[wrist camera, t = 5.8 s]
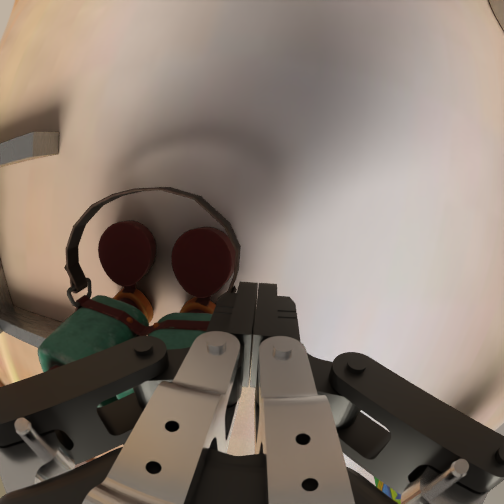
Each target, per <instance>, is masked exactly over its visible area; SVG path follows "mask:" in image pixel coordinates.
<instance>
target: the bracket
mask: <svg viewBox="0 0 504 504" xmlns="http://www.w3.org/2000/svg"><path fill="white" fill-rule="evenodd" d="M58 145H59V132H31V133H28V134H25V135H22V136H19V137H17V138H14V139H11V140H8V141H6V142H3V143H1V144H0V167H3V166H7V165H11V164H15V163H19V162H23V161H27V160H32V159H36V158H41V157H46V156H51V155H57V154H58ZM62 323H63V322H60V321H56V320H53V319H50V318H47V317H44V316H41V315H38V314H35V313H32V312H29V311H26V310H23V309H20V308H18V307H15V306H13V304H12V301H11V298H10V294H9V291H8V288H7V284H6V280H5V276H4V272H3V268H2V264H1V259H0V333H1V332H3V331H4V332H6V333H8V334H10V335H12V336H14V337H16V338H18V339H20V340H22V341H24V342H26V343H28V344H31V345H33V346H35V347H37V348H39V346H40V345H41V344H42V342H43V341H44V340H45V339H46V338H47V337H48V336H49V335H50V334H51V333H52V332H53V331H55V330H56V329H57V328H58V327H59V326H60V325H61V324H62Z"/></svg>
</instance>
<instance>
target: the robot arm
mask: <svg viewBox="0 0 504 504" xmlns="http://www.w3.org/2000/svg"><path fill="white" fill-rule="evenodd" d="M489 2H490V4H491V7H492V9H493V11H494V13H495V16H496V18H497V19H498V21H499V23H500V25H501V27H502V28H503V30H504V0H489ZM257 288H258V283H252V282H240V283H239V287H238V290H237V293H228V292H226V293H224V294H223V295H222V296H221V297H219V298H218V301H217V303H216V307H215V309H214V312H213V314H212V317H211V320H210V322H209V325H208V328H207V331H206V333H203V334H201V335H200V336H198V337H197V338H196V339H195V340H194V342H193V344H192V346H191V347H188V348H182V349H169V350H167V348H166V345H165V343H164V342H163V341H162V340H161V339H159V338H157V337H153V336H139V337H135V338H132V339H130V340H127V341H125V342H122V343H120V344H117V345H115V346H112V347H110V348H107V349H105V350H102V351H100V352H97V353H94V354H92V355H89V356H87V357H84V358H81V359H79V360H76V361H74V362H71V363H68V364H66V365H63V366H60V367H57V368H55V369H52V370H49V371H46V372H44V373H41V374H38V375H35V376H32V377H29V378H27V379H24V380H21V381H18V382H15V383H12V384H9V385H6V386H3V387H0V476H1V479H2V482H3V485H4V488H5V491H6V494H5V495H4V496H2V498H0V504H398V503H397V502H396V501H394V500H393V499H392V498H390V497H389V496H387V495H386V494H385V493H384V492H382V491H381V490H380V489H378V488H377V487H376V486H374V485H373V484H372V483H371V482H369V481H368V480H367V479H366V478H364V477H363V476H362V475H360V474H359V473H357V472H356V471H354V470H352V469H350V468H348V467H346V464H345V460H344V456H343V453H344V454H345V455H347V456H348V457H349V458H351V459H352V460H353V461H354V462H356V463H357V464H358V465H360V466H361V467H362V468H364V469H365V470H366V471H368V472H369V473H370V474H372V475H373V476H374V477H376V478H377V479H379V480H380V481H381V482H383V483H384V484H386V485H387V486H388V487H390V488H391V489H393V490H394V491H396V492H397V493H399V494H400V495H401V504H483V502H484V500H485V498H486V496H487V494H488V492H489V491H490V490H491V489H493V488H494V487H495V486H497V485H498V484H499V483H500V482H502V481H503V480H504V436H502V435H501V434H499V433H497V432H495V431H493V430H492V429H490V428H488V427H486V426H484V425H482V424H481V423H479V422H477V421H475V420H474V419H472V418H470V417H468V416H467V415H465V414H463V413H461V412H460V411H458V410H456V409H454V408H453V407H451V406H449V405H447V404H446V403H444V402H442V401H441V400H439V399H437V398H435V397H434V396H432V395H430V394H429V393H427V392H425V391H424V390H422V389H420V388H419V387H417V386H415V385H414V384H412V383H410V382H409V381H407V380H405V379H404V378H402V377H400V376H399V375H397V374H396V373H394V372H392V371H391V370H389V369H387V368H386V367H384V366H383V365H381V364H379V363H378V362H376V361H375V360H373V359H371V358H370V357H368V356H366V355H364V354H360V353H356V352H347V353H343V354H340V355H338V356H337V357H336V358H335V359H334V361H333V362H330V361H325V360H321V359H318V358H315V357H313V356H311V355H309V354H308V353H307V351H306V348H305V346H304V345H303V344H302V343H301V342H300V335H299V327H298V320H297V313H296V305H295V303H294V302H293V300H292V299H291V298H290V297H285V296H277V284H268V283H259V288H258V297H257ZM256 304H257V307H256ZM251 359H252V365H251ZM250 368H251V381H250V387H254V388H256V390H255V402H254V430H255V454H254V455H246V456H233V455H229V454H227V448H228V444H229V440H230V436H231V432H232V428H233V424H234V421H235V417H236V413H237V409H238V404H239V398H240V396H241V390H242V387H248V386H249V377H250ZM131 388H133V390H134V393H132V394H130V395H127V396H125V397H123V398H121V399H119V400H117V401H114V402H112V403H110V404H108V405H105V406H103V407H98V405H99V404H100V403H101V402H103V401H105V400H107V399H109V398H112V397H114V396H116V395H118V394H121V393H123V392H125V391H127V390H129V389H131ZM361 410H362V411H364V412H365V413H367V414H368V415H369V416H371V417H372V418H374V419H375V420H376V421H378V422H379V423H381V424H382V425H384V426H385V427H386V428H387V429H388V430H389V431H390V432H388V431H387V430H385V429H384V428H383V427H381V426H380V425H378V424H377V423H375V422H374V421H373V420H371V419H370V418H368V417H367V416H366V415H364V414H363V413H361V412H360V411H361ZM124 443H125V444H124ZM122 444H124V446H123V447H121V448H118V449H115V450H113V451H111V452H109V453H107V454H105V455H103V456H101V457H99V458H96V459H94V460H92V461H90V462H88V463H86V464H84V465H81V466H79V467H77V468H75V465H76V464H79V463H81V462H84V461H86V460H88V459H91V458H93V457H95V456H98V455H100V454H102V453H104V452H107V451H109V450H111V449H113V448H115V447H117V446H120V445H122ZM74 468H75V469H74Z"/></svg>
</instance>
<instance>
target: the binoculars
mask: <svg viewBox="0 0 504 504" xmlns="http://www.w3.org/2000/svg"><path fill="white" fill-rule="evenodd" d="M152 190H163V191H166V192H170V193H173V194H177V195H180V196H184V197H187V198H190V199H194V200H195V201H196V202H197V203H198V204H199V205H200V206H202V207H203V208H204V209H205V210H206V211H207V212H208V213H209V214H210V215H211V216H212V217H213V218H215V219H216V220H217V221H218V222H219V223H220V224H221V225H222V226H223V227H224V228H225V230H226V232H227V234H228V236H229V237H228V236H227V235H226V234H225V233H224V232H222V231H220V230H218V229H215V228H211V227H202V228H197V229H193V230H189V231H187V232H185V233H184V234H183V235H181V236H180V237H179V238H178V240H177V241H176V243H175V245H174V247H173V250H172V256H171V258H172V267H173V271H174V273H175V276H176V278H177V280H178V282H179V283H180V285H181V286H182V287H183V288H184V290H185V291H186V292H188V293H189V294H190V295H192V296H195V297H194V298H192V299H190V300H188V301H187V302H186V303H185V305H184V306H183V307H182V309H181V311H180V313H171V314H168V315H166V316H164V317H162V318H161V319H160V320H159V321H158V322H157V323H154V325H152V326H149V322H150V321H151V320H152V318H153V309H152V307H151V304H150V302H149V301H148V299H147V298H146V297H145V295H144V294H143V293H142V292H141V291H139V290H138V289H136V282H138V281H139V280H140V279H141V278H142V277H143V276H144V275H145V274H146V273H147V272H148V271H149V269H150V268H151V266H152V264H153V262H154V259H155V255H156V244H155V240H154V237H153V235H152V233H151V232H150V231H149V230H148V228H147V227H145V226H144V225H143V224H141V223H139V222H135V221H124V222H119V223H116V224H113V225H111V226H110V227H108V228H107V229H106V230H105V231H104V233H103V234H102V236H101V238H100V241H99V247H98V252H99V258H100V262H101V264H102V267H103V269H104V271H105V272H106V274H107V275H108V276H109V278H110V279H111V280H112V281H113V282H115V283H116V284H118V285H121V286H124V288H123V289H122V290H121V291H120V292H118V293H117V294H116V295H115V297H114V298H110V297H107V296H101V295H98V296H95V297H93V298H92V299H90V297H91V293H92V292H91V280H90V279H89V278H86V277H85V275H84V273H83V271H82V269H81V267H80V265H79V258H78V245H79V242H80V239H81V236H82V234H83V231H84V228H85V226H86V224H87V223H88V222H89V220H90V219H91V218H92V217H93V216H94V215H95V214H96V213H97V212H98V211H99V209H100V208H101V207H102V206H103V205H105V204H107V203H109V202H111V201H113V200H115V199H117V198H119V197H121V196H123V195H128V194H132V193H136V192H141V191H152ZM240 247H241V246H240V244H239V242H238V240H237V238H236V235H235V233H234V231H233V229H232V227H231V224H230V223H229V222H228V221H227V220H226V219H225V218H224V217H223V216H222V215H221V214H220V213H219V212H217V211H216V210H215V209H214V208H213V207H212V206H211V205H210V204H209V203H208V202H207V201H206V200H204V199H203V198H202V197H201V196H198V195H195V194H191V193H188V192H184V191H181V190H178V189H174V188H171V187H157V188H139V189H131V190H127V191H123V192H119V193H115V194H112V195H110V196H108V197H106V198H104V199H102V200H100V201H98V202H96V203H94V204H92V205H91V206H90V207H89V208H88V209H87V210H86V212H85V213H84V214H83V215H82V216H81V217H80V219H79V220H78V221H77V222H76V223H75V225H74V226H73V228H72V231H71V234H70V237H69V240H68V243H67V247H66V265H65V267H64V268H65V270H66V271H67V273H68V275H69V277H70V284H71V287H70V288H69V289H68V290H67V296H68V298H69V300H70V301H71V303H72V305H73V306H75V307H76V311H75V312H74V313H73V314H72V315H71V316H70V317H69V318H68V319H66V320H65V321H64V322H63V323H62V324H61V325H60V326H59V327H58V328H57V329H56V330H55V331H53V332H52V333H51V334H50V335H49V336H48V337H47V338H46V339H45V340H44V341H43V342H42V344H41V345H40V346H39V348H38V356H39V361H40V364H41V367H42V369H43V372H46V371H49V370H52V369H55V368H57V367H60V366H63V365H66V364H68V363H71V362H74V361H76V360H79V359H81V358H84V357H87V356H89V355H92V354H94V353H97V352H100V351H102V350H105V349H107V348H110V347H112V346H115V345H117V344H120V343H122V342H125V341H127V340H130V339H132V338H135V337H139V336H146V335H148V336H153V337H157V338H159V339H161V340H162V341H163V342H164V343H165V345H166V348H167V350H169V349H182V348H188V347H191V346H192V344H193V342H194V340H195V339H196V338H197V337H198V336H200V335H201V334H203V333H206V331H207V328H208V325H209V322H210V320H211V317H212V314H213V312H214V309H215V307H216V305H215V304H214V303H213V302H211V301H210V298H211V295H212V294H214V293H216V292H217V291H218V290H219V289H220V288H221V287H222V286H223V285H224V284H225V283H226V282H227V281H228V280H229V278H230V277H231V275H232V274H233V272H234V276H233V279H232V281H231V284H230V287H229V289H228V291H227V292H228V293H235V292H236V290H237V289H236V287H235V286H234V287H233V285H234V282H235V280H236V277H237V274H238V270H239V258H240ZM87 284H88V293H87V295H84V296H83V297H81V298H80V299H78V300H77V301H76V302H75V301H74V299H73V297H72V295H71V292H73V293H78V292H80V291H81V290H83V289H84V288H86V287H87ZM232 287H233V288H232ZM132 393H134V390H133V388H131V389H129V390H127V391H125V392H123V393H121V394H118V395H116V396H114V397H112V398H109V399H107V400H105V401H103V402H101V403H100V404H99V405H98V407H103V406H105V405H108V404H110V403H112V402H114V401H117V400H119V399H121V398H123V397H125V396H127V395H130V394H132ZM124 444H125V443H124ZM124 444H123V445H124Z"/></svg>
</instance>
